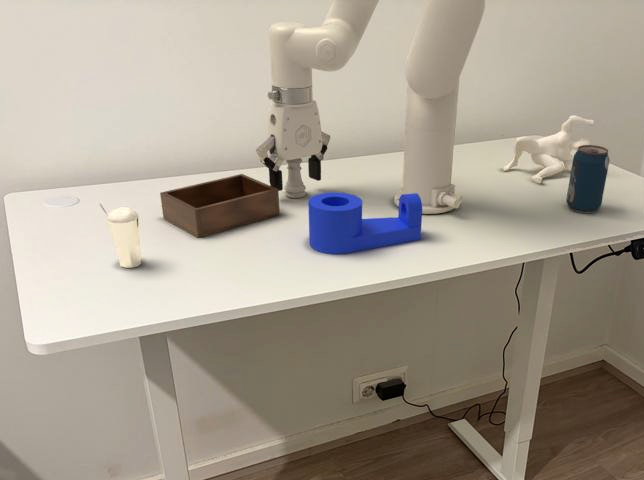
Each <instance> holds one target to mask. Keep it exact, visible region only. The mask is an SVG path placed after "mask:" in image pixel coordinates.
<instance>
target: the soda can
mask: <svg viewBox="0 0 644 480" xmlns="http://www.w3.org/2000/svg"><path fill="white" fill-rule="evenodd" d="M572 157H573V163H572V169H571V171H570V175H569V181H568V185H567V186H568V187H567V193H566V199H565V200H566V201H565V202H566V204H567V207H568V209H570V210H571V211H573V212H575V213H578V214H594V213H596V212H597V211H598V210H599V208H600V207H601V206H602V203H603V197H604V192H605V186H606V181H607V177H608V170H609V166H610V156H609V149H607V148H606V147H604V146H600V145H594V144H591V145H582V146H579V147H578V150H576V152H575V153H574V154H573V156H572Z"/></svg>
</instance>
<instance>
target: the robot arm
mask: <svg viewBox="0 0 644 480" xmlns="http://www.w3.org/2000/svg"><path fill="white" fill-rule="evenodd" d="M379 2H380V0H333V1H332V3H331V6H330V8H329V10H328V13H327V15H326V17H325V18H324V21H323V23H322V25H320V26H318V27H309V26H308V25H307V24H306V23H303V22H295V21H282V22H281V21H280V22H275V23H273V24H272V25H270V26H269V30H268V41H269V60H270V61H269V62H270V76H271V91H269V92H267V98H268V99H269V100H272V102H271V103H270V105H269V112H268V122H267V124H268V125H267V138H266V139H265V141H264V142H262V143H261V144H260V145H259V146H258V147H257V148H256V149H255V153H256V154H257V156H258V158H259V159H260V162H261V163H262V164H263V165H264V166H265V168H266V169H268V179H269V180H268V181H269V186H272V187H274V188H276V189H278V192H281V191H283V189H284V187H283V186H284V184H283V171H282V170H281V169H280V168H281V166H282V165H283V163H284V161H286V160H293V159H298V158H301V159H302V158H307V157H308V159H307V164H308V168H307V169H308V178H309V179H312V180H315V181H318V182H319V181H321V180H322V161H323V160H324V159H325V157H324V156H325V154H326V152H327V150H328V146H329V143H330V140H331V135H330V134H328V133H326V132H324V131H322V125H321V124H322V123H321V117H320V112H319V108H318V104H317V101H316V100H314V98H313V97H314V96H313V70H318V71H322V72H329V73H330V72H336V71H339V70H342V69H343V68H344V67H345V66H346V65H347V63H348V62H349V61H350V59H351V58H352V57H353V56H354V55H355V53H356V50H357V49H358V46H359V44H360V42H361V40H362V38H363V36H364V34H365V31H366V29H367V28H368V25H369V23H370V21H371V19H372V16H373V14H374V12H375V10H376V7H377V5H378V4H379ZM485 9H486V0H425V3H424V6H423V9H422V12H421V14H420V15H421V16H420V19H419V21H418V24H417V27H416V30H415V34H414V36H413V38H412V42H411V44H410V48H409V51H408V53H407V56H406V59H405V64H404V75H405V80H406V82H407V85H406V87H407V88H406V100H405V101H406V102H405V103H406V104H405V122H404V145H403V166H402V167H403V168H402V170H403V171H402V190H400V191H398V192H396V193H395V195H394V196H393V197H394V198H393V202H394V204H395V205H396V206H397V207H398V208H399V199H400V196H401V195H402V194H413V193H417V194H418V195H419V196H420V199H421V202H422V215H423V214H424V215H437V214H444V213H447V212H448V213H449V212H451V211H453V210H454V209H458V208H459V207H460V206H461V203H463V201H464V196H463V195H461V194H459V193H455V191H456V184H454V183H452V174H453V162H454V149H455V137H456V125H457V115H458V113H457V112H458V101H459V88H460V77H461V74H462V73H463V70H464V67H465V65H466V61H467V59H468V56H469V54H470V51H471V49H472V46H473V43H474V41H475V38H476V36H477V33H478V30H479V28H480V25H481V22H482V19H483V16H484V13H485ZM268 152H269V154H270V155H268Z"/></svg>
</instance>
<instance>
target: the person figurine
mask: <svg viewBox="0 0 644 480" xmlns="http://www.w3.org/2000/svg"><path fill="white" fill-rule="evenodd" d="M574 124H587V125H588V126H591V127H593V125H594V124H595V121H594V119H587V118H583V117H581V116H578V115H570V116H569V117H568V119H567V120H566V121H565V122H563V123H562V125H561V130H560V131H559V132H557V133H555V134H551V135H546V136H544V137H541V138H537V139H534V138H533V137H531V136H527V135H526V136H525V135H523V136H520V137H517V138H516V139H515V141H514V144H513V145H514V146H513V151H514V152H513V153H514V156H513V159H512V160H511V161H510V162H509V163H508V164H506V165H504V166H503V171H504V172H507V171H509V170H511V169H512V168H514V167H518V162H519V160H520V158H521V156H522V155H523V153H524V152H526V153H528V154H529V155H530V158H531V160H532V163H534V164H536V165H538V166H541V167H543V168H542V170H540V171H539V172H537V173H536V174H534V175H531V176H530V179H531V181H532V182H535V183H536V184H541V183H542V181H543V178H544V177H551V176H554V175H555V174H558V173H561V172H563V170H564V169H566V170H567V171H569V172H571V169H572V163H573V157H574V156H573V155H572V154H571V152H572V151H573V150H575V151H577V150H578V147H579V146H582V145H592V144H591V141H590V140H588V139H584V138H580V139H578V140H576V141H575V139H573V137H572V136H571V134H572V132H573V131H572V128H573V127H574Z"/></svg>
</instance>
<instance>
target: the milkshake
mask: <svg viewBox="0 0 644 480" xmlns="http://www.w3.org/2000/svg"><path fill="white" fill-rule="evenodd" d="M99 206H100V208H101V209H102V211H103V212H104V214H105V215H106V220H107V223H108V226H109V230H110V232H111V233H110V234H111V236H112V239H113V242H114V247H115V249H116V255H117V258H118V262H119V266H120V267H122V268H125V269H132V268H136V267H139V266H140V265H141V264H142V256H141V244H140V223H139V213H138V212H137V211H136V210H134V209H133V208H132V207H128V206H127V207H126V206H121V207H118V208H114V209H112V210H111V211H110V212H109V213H107V211H106V209H105V207H103V205H102V203H99Z"/></svg>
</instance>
